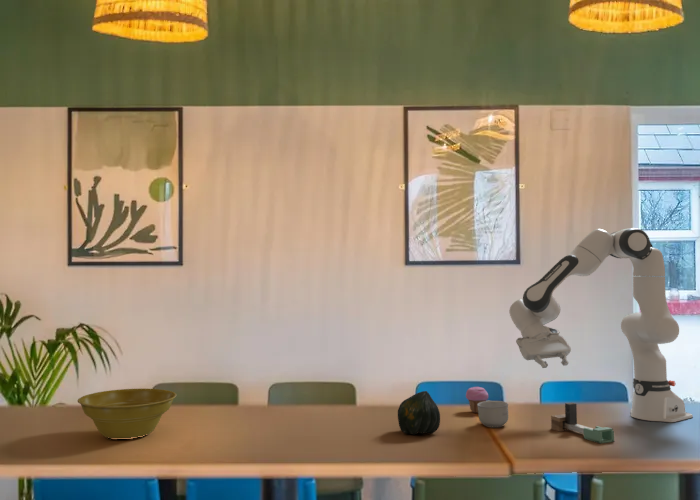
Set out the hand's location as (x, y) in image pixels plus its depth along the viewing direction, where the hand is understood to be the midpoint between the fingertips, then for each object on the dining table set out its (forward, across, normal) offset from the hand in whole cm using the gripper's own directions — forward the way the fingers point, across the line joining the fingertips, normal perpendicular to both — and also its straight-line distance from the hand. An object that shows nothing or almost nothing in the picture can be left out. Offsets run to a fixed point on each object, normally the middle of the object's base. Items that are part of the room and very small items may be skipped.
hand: (555, 365), depth 229 cm
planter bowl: (-24, -142, +49) cm, 153 cm away
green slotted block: (+31, -3, -1) cm, 31 cm away
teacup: (+7, -21, +22) cm, 31 cm away
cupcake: (-7, -14, +36) cm, 39 cm away
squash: (+6, -51, +22) cm, 56 cm away
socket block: (+19, -3, +11) cm, 22 cm away
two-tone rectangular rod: (+23, -3, +6) cm, 24 cm away
